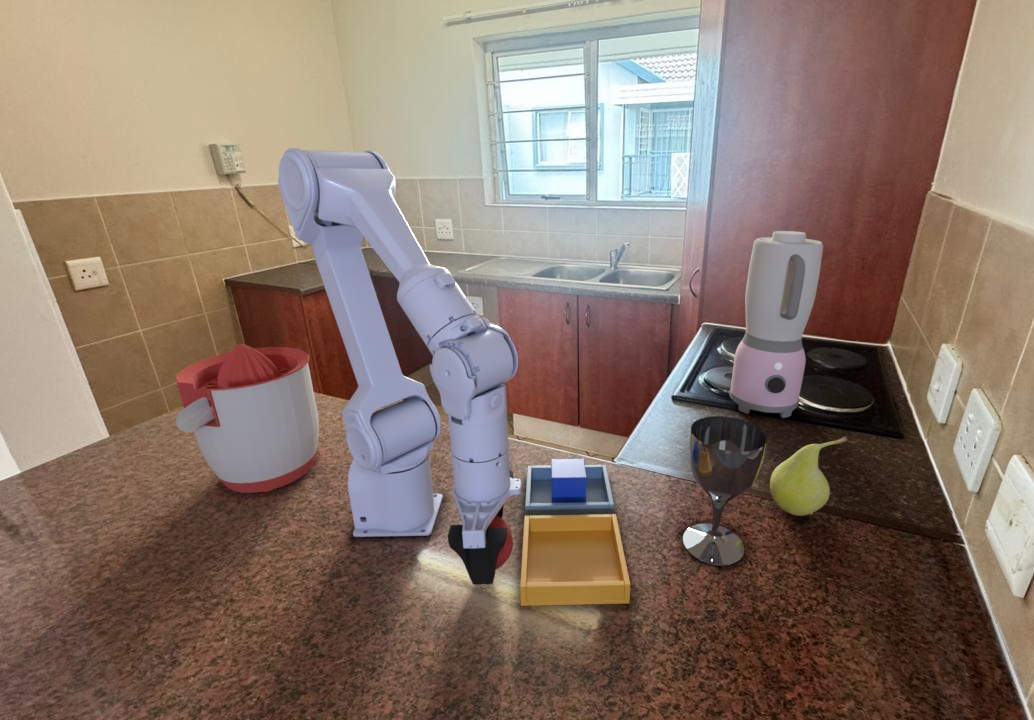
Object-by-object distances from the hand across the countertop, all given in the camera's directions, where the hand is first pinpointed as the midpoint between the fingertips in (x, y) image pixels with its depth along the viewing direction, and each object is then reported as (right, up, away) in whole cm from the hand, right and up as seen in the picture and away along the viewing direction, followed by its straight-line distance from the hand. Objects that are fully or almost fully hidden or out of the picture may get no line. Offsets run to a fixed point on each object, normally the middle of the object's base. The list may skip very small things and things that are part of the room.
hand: (487, 555), depth 55 cm
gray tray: (+9, +3, +13) cm, 16 cm away
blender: (+46, +12, +39) cm, 62 cm away
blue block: (+9, +3, +12) cm, 16 cm away
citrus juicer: (-35, +4, +18) cm, 40 cm away
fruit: (+39, +2, +11) cm, 41 cm away
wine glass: (+26, -1, +5) cm, 27 cm away
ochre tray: (+9, -2, +1) cm, 10 cm away
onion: (0, -2, +1) cm, 2 cm away
